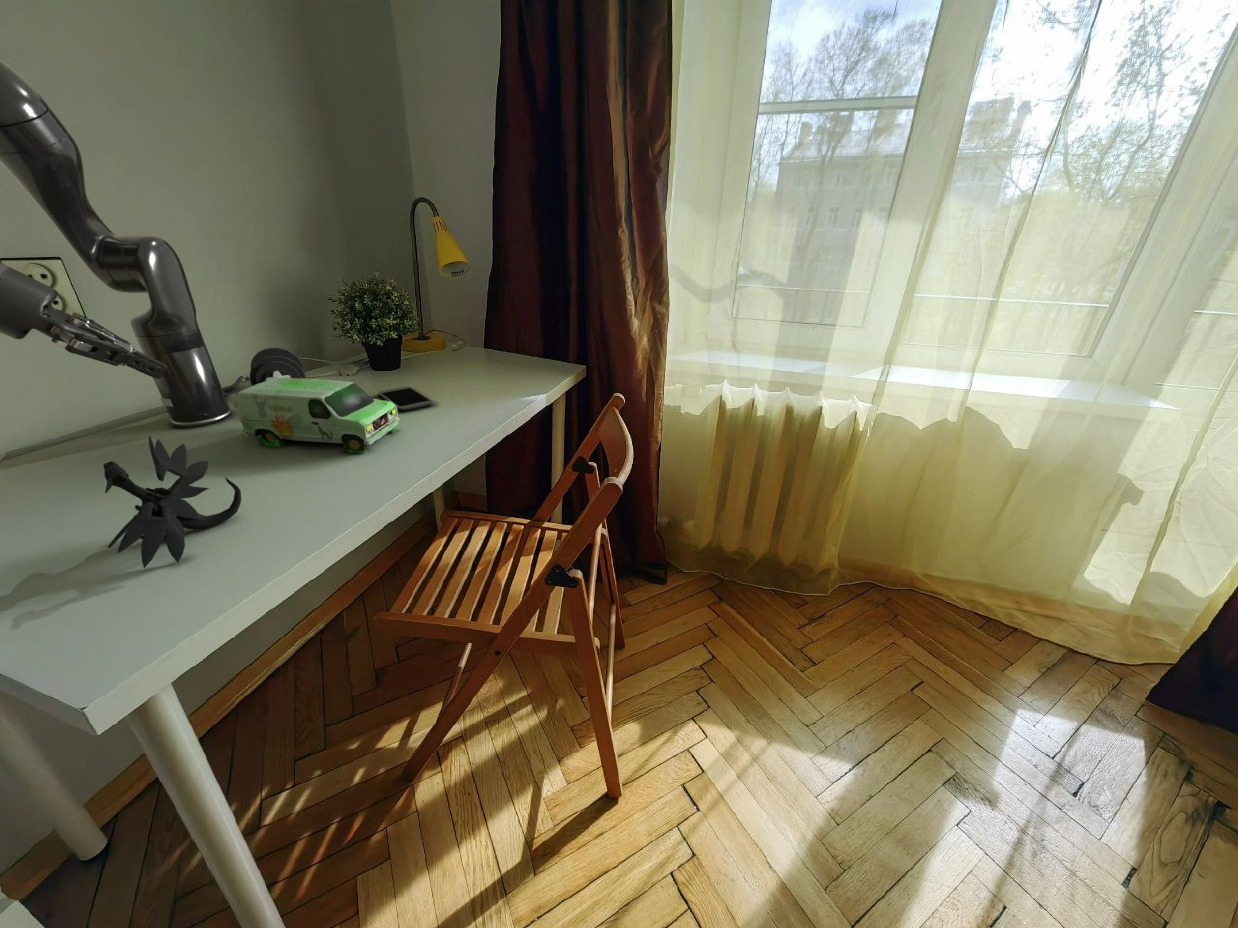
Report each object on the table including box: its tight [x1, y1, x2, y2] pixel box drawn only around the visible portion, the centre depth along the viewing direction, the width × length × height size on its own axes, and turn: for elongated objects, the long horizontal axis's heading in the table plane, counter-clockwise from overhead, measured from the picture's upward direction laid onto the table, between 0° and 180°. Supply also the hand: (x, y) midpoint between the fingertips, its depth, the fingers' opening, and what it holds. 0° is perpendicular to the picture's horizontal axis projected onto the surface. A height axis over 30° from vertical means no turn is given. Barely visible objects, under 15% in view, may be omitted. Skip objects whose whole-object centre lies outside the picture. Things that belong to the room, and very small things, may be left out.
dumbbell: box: [249, 347, 307, 386], centre depth 108 cm, size 22×10×10 cm, turn 33°
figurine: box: [103, 435, 242, 569], centre depth 59 cm, size 16×13×11 cm
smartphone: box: [377, 386, 435, 412], centre depth 108 cm, size 7×15×1 cm, turn 42°
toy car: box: [236, 378, 400, 454], centre depth 88 cm, size 11×25×10 cm, turn 81°
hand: (163, 372), depth 70 cm, fingers closed
